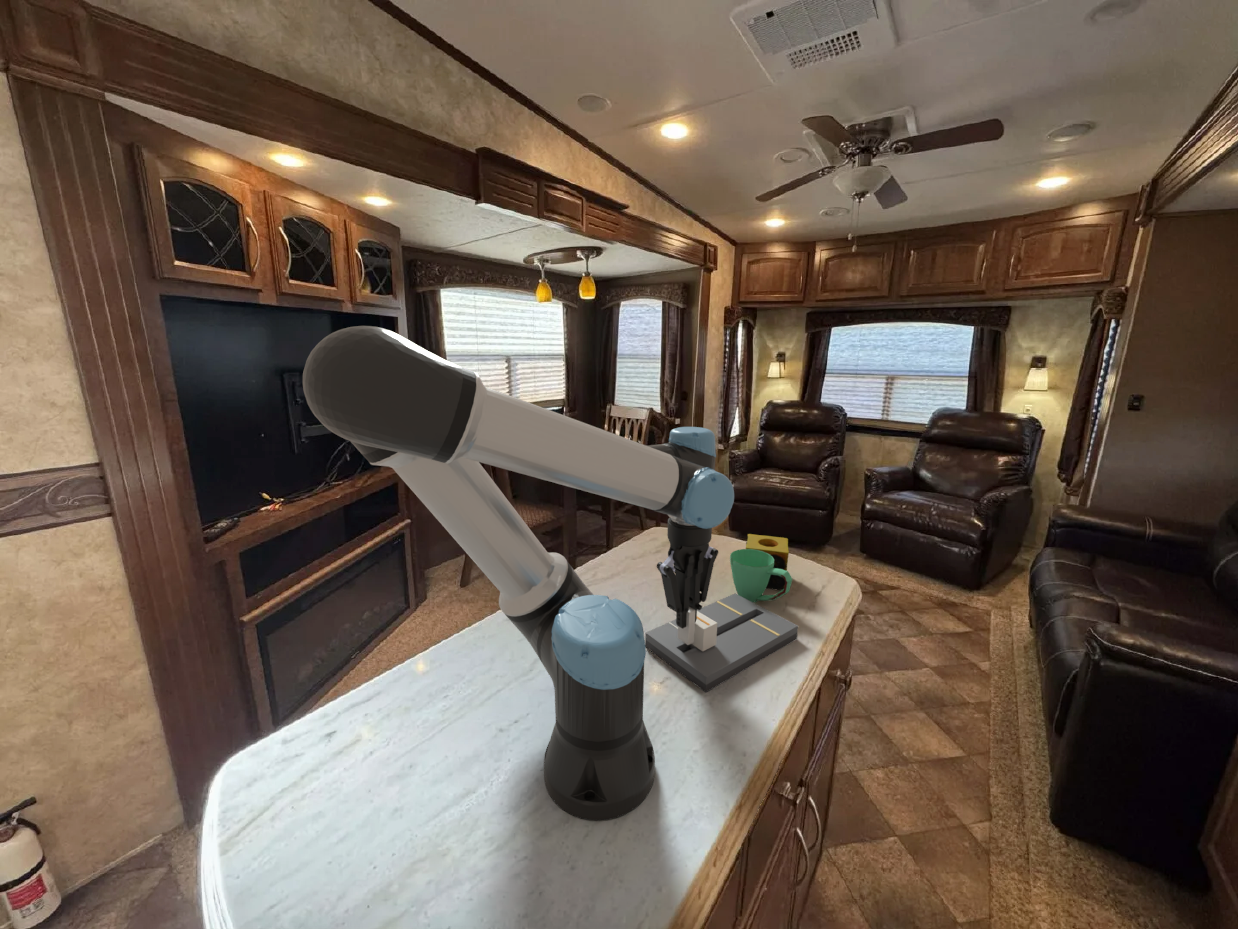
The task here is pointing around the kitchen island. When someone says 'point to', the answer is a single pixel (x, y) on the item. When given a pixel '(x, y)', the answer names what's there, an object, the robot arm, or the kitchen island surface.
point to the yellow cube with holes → (777, 550)
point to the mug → (756, 574)
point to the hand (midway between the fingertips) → (685, 640)
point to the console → (724, 641)
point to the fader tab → (704, 633)
